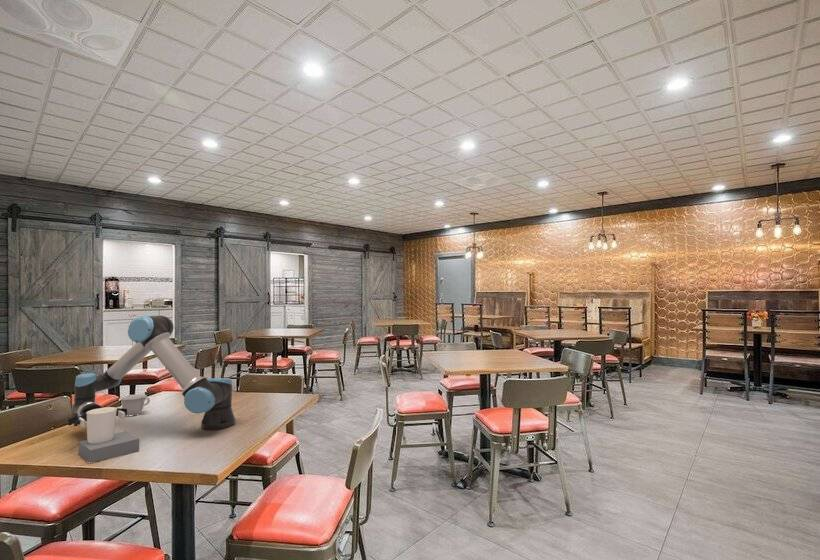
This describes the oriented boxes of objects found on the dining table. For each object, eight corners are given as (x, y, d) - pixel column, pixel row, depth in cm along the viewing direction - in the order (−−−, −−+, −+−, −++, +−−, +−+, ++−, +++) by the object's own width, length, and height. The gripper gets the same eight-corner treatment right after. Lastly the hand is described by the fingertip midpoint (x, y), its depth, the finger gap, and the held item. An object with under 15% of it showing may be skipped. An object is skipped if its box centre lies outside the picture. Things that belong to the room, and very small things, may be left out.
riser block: (125, 443, 170) (125, 431, 170) (139, 451, 160) (139, 438, 161) (78, 454, 157) (78, 441, 158) (89, 463, 148) (90, 450, 148)
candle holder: (79, 445, 153) (80, 414, 154) (93, 437, 163) (95, 407, 163) (107, 443, 155) (109, 412, 156) (120, 435, 165) (121, 406, 165)
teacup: (141, 418, 209) (141, 399, 209) (113, 418, 209) (114, 399, 210) (156, 412, 221) (156, 393, 221) (130, 412, 221) (130, 394, 222)
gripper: (122, 414, 186) (138, 421, 173) (52, 427, 166) (64, 437, 153) (123, 397, 186) (139, 404, 173) (53, 409, 167) (65, 417, 154)
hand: (104, 419), depth 163 cm, fingers open, 13 cm apart
